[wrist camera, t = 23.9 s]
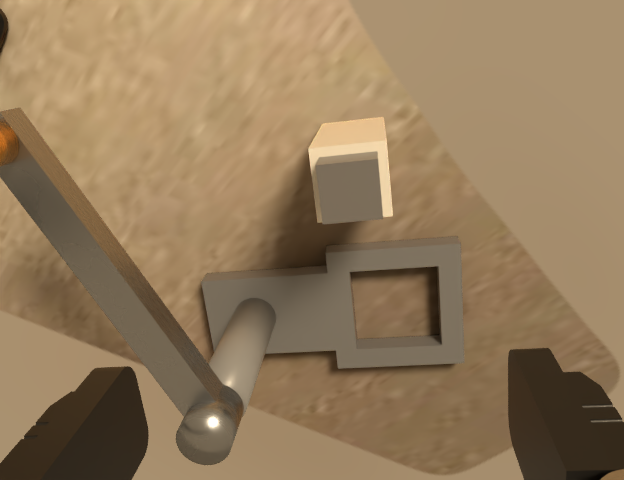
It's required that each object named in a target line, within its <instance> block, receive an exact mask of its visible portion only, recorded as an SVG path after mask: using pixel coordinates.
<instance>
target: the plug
mask: <svg viewBox="0 0 624 480" xmlns="http://www.w3.org/2000/svg"><path fill="white" fill-rule="evenodd" d="M308 151H309V159H310V167H311V175H312V183H313V191H314V199H315V207H316V215H317V223H321V222H322V223H323V224H333V223H345V222H356V221H367V220H379V219H383V217H389V216H393V212H392V200H391V187H390V175H389V163H388V151H387V139H386V132H385V124H384V117H378V118H369V119H360V120H351V121H342V122H333V123H324V124H322V125H321V127H320V129H319V131H318V132H317V134H316V136H315V138H314V139H313V141H312V143H311V145H310V146H309V148H308Z"/></svg>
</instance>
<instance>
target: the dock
mask: <svg viewBox="0 0 624 480" xmlns="http://www.w3.org/2000/svg"><path fill="white" fill-rule="evenodd" d="M325 254H326V263H327V265H326V266H311V267H296V268H281V269H266V270H251V271H236V272H221V273H207V274H206V275H205V277H204V278H203V280H202V281H201V283H202V289H203V294H204V300H205V305H206V311H207V316H208V322H209V327H210V333H211V338H212V343H213V349H214V354H213V356H212V358H211V360H210V362H209V366H210V367H211V369H212V370H213V371H214V373H215V374H216V375H217V377H218V378H219V379H220V381H221V382H222V384H223V385H226V386H228V387H230V388H232V389H233V390H235V391H236V392H237V393H238V394H239V396H240V397H241V399H242V401H243V405H244V412H243V415H244V414H245V412H246V409H247V406H248V403H249V400H250V397H251V394H252V391H253V388H254V385H255V382H256V380H257V377H258V374H259V371H260V368H261V365H262V362H263V359H264V356H265V354H271V353H292V352H313V351H334V350H336V355H337V365H338V369H340V368H363V367H386V366H409V365H432V364H455V363H464V333H463V300H462V267H461V243H460V241H459V238H458V236H454V237H440V238H426V239H412V240H398V241H384V242H370V243H355V244H341V245H327V248H326V252H325ZM434 266H437V285H438V307H439V330H440V335H432V336H412V337H392V338H372V339H357V331H356V320H355V310H354V299H353V289H352V278H351V272H356V271H372V270H387V269H403V268H418V267H434ZM243 415H242V417H243Z"/></svg>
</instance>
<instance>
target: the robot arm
mask: <svg viewBox="0 0 624 480" xmlns="http://www.w3.org/2000/svg"><path fill="white" fill-rule="evenodd" d="M508 417H509V428H510V435H511V440H512V445H513V448H514V451H515V454H516V457H517V460H518V462H519V466H520V469H521V472H522V474H523V477H524V480H624V422H622V418H621V416H620V415H619V413H618V411H617V410H616V409H615V407H613V405H612V402H611V401H610V399H609V398H608V396H607V395H606V393H605V392H604V390H603V388H602V387H601V386H600V385H599V384H597V383H596V382H594V381H593V380H591V379H590V378H588V377H587V376H586V375H584V374H583V373H581V372H563V371H562V370H561V368H560V366H559V364H558V362H557V361H556V359H555V357H554V355H553V354H552V352H551V350H550V349H549V348H536V349H514V350H510V351H509V357H508ZM147 445H148V426H147V421H146V417H145V413H144V408H143V404H142V400H141V395H140V391H139V387H138V383H137V378H136V375H135V373H134V371H133V369H132V368H131V367H107V368H95V369H94V370H93V371H92V372H91V373H90V374H89V375H88V376H87V377H86V379H85V380H84V381H83V382H82V383H81V385H80V386H79V387H78V388H77V389H76V391H75V392H70V393H69V394H67V395H66V396H64V397H63V398H61V399H60V400H58V401H57V402H55V403H54V404H53V405H51V406H50V407H49V408H48V409H47V410H46V411H45V413H44V414H43V415H42V416H41V417H40V418H39V419H38V421H37V422H36V426H33V427H31V429H30V430H29V431H28V432H27V433H26V434H25V436H24V439H21V440H20V441H19V442H18V444H17V445H16V446H15V447H14V448H13V449H12V450H11V452H10V453H9V454H8V455H7V456H6V457H5V459H4V460H3V461H2V462H1V463H0V480H132V478H133V476H134V474H135V472H136V470H137V469H138V467H139V465H140V463H141V461H142V459H143V458H144V456H145V453H146V450H147Z"/></svg>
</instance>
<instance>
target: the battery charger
mask: <svg viewBox="0 0 624 480" xmlns="http://www.w3.org/2000/svg"><path fill="white" fill-rule="evenodd" d="M7 27H8V21H7V18H6V16H5V14H4V13H3V11H2V10H1V9H0V49H1V46H2V43H3V41H4V38H5V35H6V31H7Z"/></svg>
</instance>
